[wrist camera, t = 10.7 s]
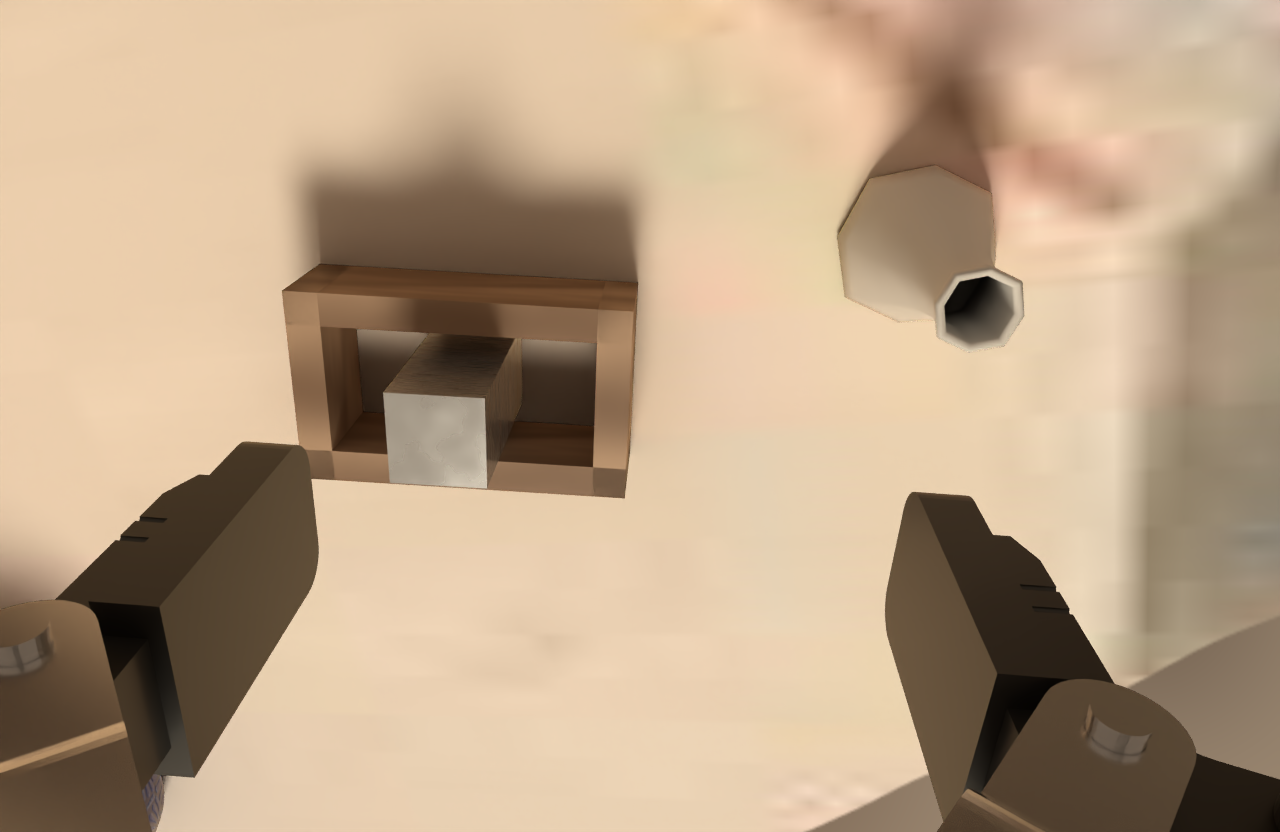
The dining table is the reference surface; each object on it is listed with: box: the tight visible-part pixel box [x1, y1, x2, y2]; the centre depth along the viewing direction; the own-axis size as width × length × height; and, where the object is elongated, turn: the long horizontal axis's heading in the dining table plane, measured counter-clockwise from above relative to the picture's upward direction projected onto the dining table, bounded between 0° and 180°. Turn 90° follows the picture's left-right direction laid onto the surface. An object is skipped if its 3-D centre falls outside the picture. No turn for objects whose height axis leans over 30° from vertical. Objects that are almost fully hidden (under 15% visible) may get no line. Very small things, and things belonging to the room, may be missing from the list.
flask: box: [837, 165, 1024, 353], centre depth 37 cm, size 7×7×10 cm
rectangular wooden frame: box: [282, 264, 638, 498], centre depth 43 cm, size 9×15×4 cm, turn 87°
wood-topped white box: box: [383, 333, 522, 489], centre depth 41 cm, size 4×4×9 cm
